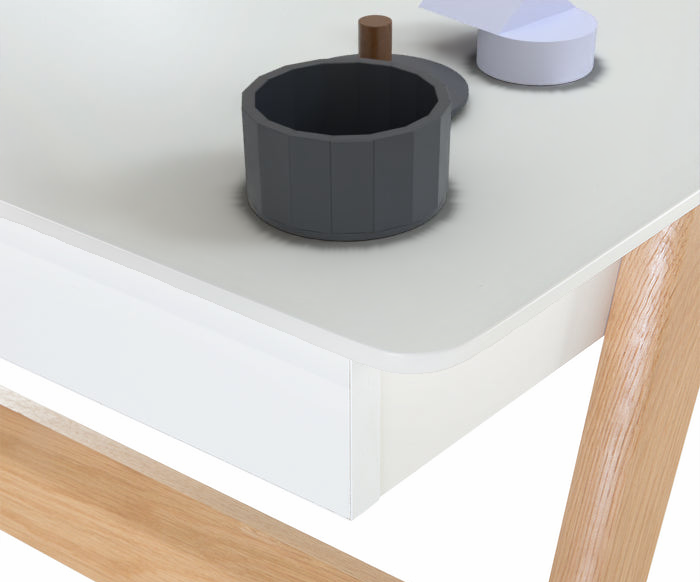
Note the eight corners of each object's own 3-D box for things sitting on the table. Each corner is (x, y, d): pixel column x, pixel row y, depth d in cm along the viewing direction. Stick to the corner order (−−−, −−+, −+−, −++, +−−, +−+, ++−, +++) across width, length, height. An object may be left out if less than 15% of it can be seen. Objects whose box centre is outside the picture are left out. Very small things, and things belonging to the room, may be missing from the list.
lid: (330, 156, 83) (328, 69, 79) (253, 86, 93) (249, 6, 89) (503, 118, 88) (509, 35, 84) (412, 55, 98) (414, -22, 94)
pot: (296, 259, 71) (292, 157, 68) (218, 172, 81) (211, 78, 77) (483, 213, 76) (489, 114, 72) (389, 135, 85) (390, 45, 82)
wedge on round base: (417, 48, 99) (539, 95, 91) (418, -36, 95) (546, 5, 87) (494, 21, 104) (616, 63, 96) (498, -60, 100) (627, -23, 92)
